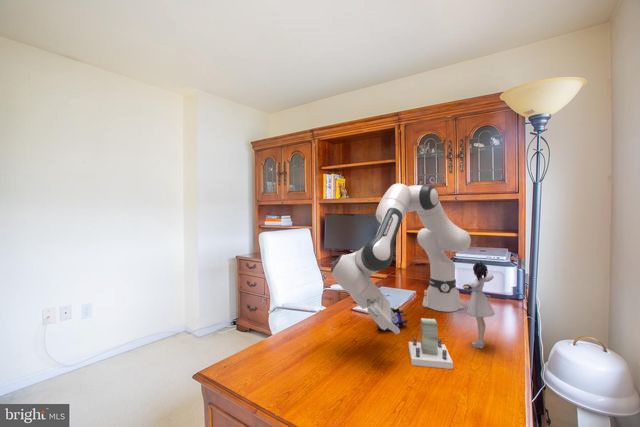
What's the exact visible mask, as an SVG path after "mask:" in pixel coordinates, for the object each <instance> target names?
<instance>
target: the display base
mask: <svg viewBox="0 0 640 427" xmlns="http://www.w3.org/2000/svg"><path fill="white" fill-rule="evenodd" d="M412 339H413V341H408V350H409V351H408V352H409V357H410V358H409V359H410V361H411V366H416V367H417V366H418V367H425V368H426V367H427V368H438V369H446V370H447V369H448V370H454V362H453V360H452V358H451V356H450V354H449V351H448V349H447V347H446V344H442V339H441V338H437V355H429V354H423V353H422V349H421V342H418V337H417V336H413V338H412Z"/></svg>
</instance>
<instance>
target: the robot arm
mask: <svg viewBox="0 0 640 427" xmlns="http://www.w3.org/2000/svg"><path fill="white" fill-rule="evenodd" d="M439 197H440V195H439V190H438V189H437V188H436V186H434V185H432V184H422V185H421V184H419V185H418V184H417V185H414V184H413V185H409V186H408V185H406V184H403V183H394V184H392V185H390V187H389V188H388V189H387V190H386V192H385V193H384V194H383V196H382V198H381V200H380V201H379V203H378V206H377V208H376V211H375V218H376V220H377V221H378V223H379V224H380V225H379V228H378V230H377V233H376V234H375V237H373V238H372V239H371V240H369V241H368V242H367V243H366V244H365V245H364V246H363V247H361V248H360V249H359V250H356V251H354V252H352V253H348V254H341V255H339V256H338V257H337V258H336V260H335V261H334V262H333V264H332V265H331V268H330V275H331V276H332V278H333V279H334V280H335V281H336V283H337V284H338V285H340V287H341V288H342V289H343V290H344V291H346V292H347V293H348V294H349V295H350V297H351V299H353V301H354V302H355V303H356V304H357V305H358V306H359V307H360V308H361V309H362V310H364V309H367V312H368V315H369V317H370V318H371V319H372V320H373V321H374V322H375V324H376V323H377V324H378V325H379V327H380V328H382V330H383V331H385V330H389V331H392V332H393V333H394V334H395V335H398V334H400V332H401V330H400V328H399V326H398V327H397V326H395V325H394V324H393V322H394V323H397V322H398V318H397V317H396V316H395V314H394V313H393V311H392V310H391V303H390V301H389V300H388V298H387V297H386V296H385V294H384V293H382V291H381V288H379V286H378V285H377V284H376V283H374V282H373V281H372V280H371V279H370V277H371V276H372V275H374V274H376V273H379V272H380V271H383V270H386V269H387V268H389V267H390V266H391V264H392V263H393V259H394V244H395V241H396V238H397V235H398V232H399V230H400V228H401V224H402V222H403V221H404V218H405V216H406V214H407V212H408V213H409V212H410V213H411V212H412V213H413V212H416V213H417V214H416V215H418V217H419V220H420V222H421V224H422V225H423V227H424V228H421V229H419V231H418V232H417V237H416V240H417V243H418V245H419V246H420V247H421V248H422V249H423V250H424V251H425V253H426V255H427V257H428V261H429V266H430V277H429V280H428V281H429V283H428V285H429V286H428V288H427V289H425V290H424V292H423V294H424V296H423V300H422V305H421V306H422V307H424V308H429V309H431V310H434V311H437V312H438V311H439V312H457V311H458V310H462V309H464V305H463V304H461V303H460V302H461V301H460V298H461V297H460V291H459V290H458V289H457V280H456V265H455V263H454V261H453V260H452V259H451V258H449V257H448V256H447V255H446V253H445V251H446V252H455V253H456V252H457V253H458V252H466V251H467V250H468V249H469V247H470V246H471V242H472V238H471V236H470V234H469V232H468V231H467V230H465V229H463V228H460V227H459V226H457V225H456V224H455V223H454V222H453V221H451V219H449V217H448V216H447V214H446V213H445V210H444V207H443V206H442V204H441V201H440V199H439ZM392 321H393V322H392ZM377 324H376V325H377Z"/></svg>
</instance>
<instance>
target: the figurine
mask: <svg viewBox="0 0 640 427" xmlns="http://www.w3.org/2000/svg"><path fill="white" fill-rule="evenodd" d="M472 270H473V274H474V277H475V276H476V279H475V280H474V281H472V282H468V283H467V284H463V285H462V286H461V288H463V290H464V291H466V292H468V293H469V292H470V293H471V294H470V299H469V303H468V308H467V311H466V314H467V315H468V316H470V317H473V318H475V320H476V323H477V331H478V333H477V334H478V335H477V336H478V338H477V340H474V341H472V342H471V346H472V347H473V348H477V349H483V348H484V347H485V338H484V337H485V331H486V322H485V319H484V318H488V317H489V318H490V317H493V316H495V314H496V313H495V310H494V309H493V307H492V305H491V303H490V302H489V299H488V298H487V296H486V295H485V293H484V292H483V288H484V286H485V283H489V282H491V281H492V280H493V279H494V275H493V274H491V273H488V267H487V265H486V264H484V263H483V262H482V261H480V262H476V263H474V264H473V267H472Z"/></svg>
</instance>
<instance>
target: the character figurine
mask: <svg viewBox="0 0 640 427" xmlns="http://www.w3.org/2000/svg"><path fill="white" fill-rule="evenodd" d="M390 309H391V308H390ZM391 310H392V311H393V313H394V314H395V316H396V317H397V318H398V322H397V323H394V322H393V321H392V322H393V324H394V325H395V326H397V327H398V328H399V327H404V325H405V324H407V323H408V321H409V319H402V317H407V316H408V314H407V313H404V310H400V308H396V309H395V308H394V309H393V308H392V309H391ZM375 324H376V326H377V330H378V331H382V330H383V329H382V328H380V327H379V325H378V324H377V323H376V322H375Z"/></svg>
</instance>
